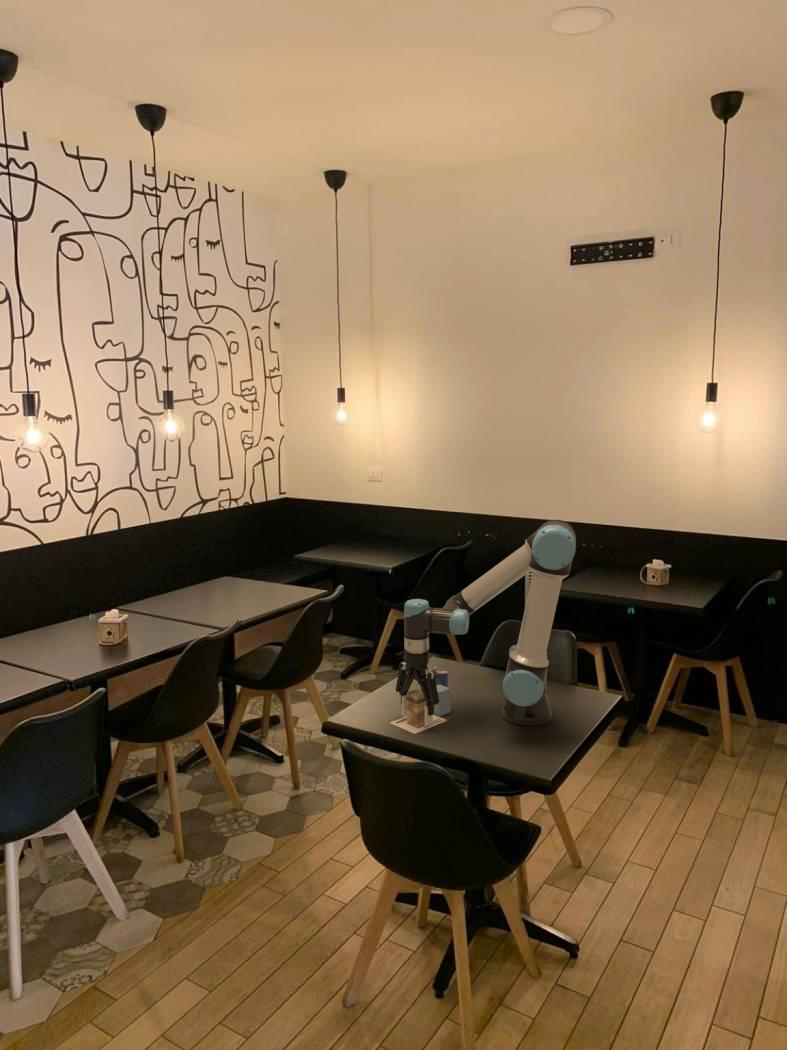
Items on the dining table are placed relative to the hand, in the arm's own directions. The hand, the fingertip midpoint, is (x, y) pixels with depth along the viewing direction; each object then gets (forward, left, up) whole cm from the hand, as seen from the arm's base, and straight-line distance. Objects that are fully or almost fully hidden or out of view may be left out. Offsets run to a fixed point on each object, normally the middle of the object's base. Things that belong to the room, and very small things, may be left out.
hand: (417, 719), depth 244 cm
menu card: (+1, -2, -2) cm, 2 cm away
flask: (+12, -20, -2) cm, 23 cm away
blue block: (+2, -12, -2) cm, 12 cm away
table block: (0, 0, -1) cm, 1 cm away
